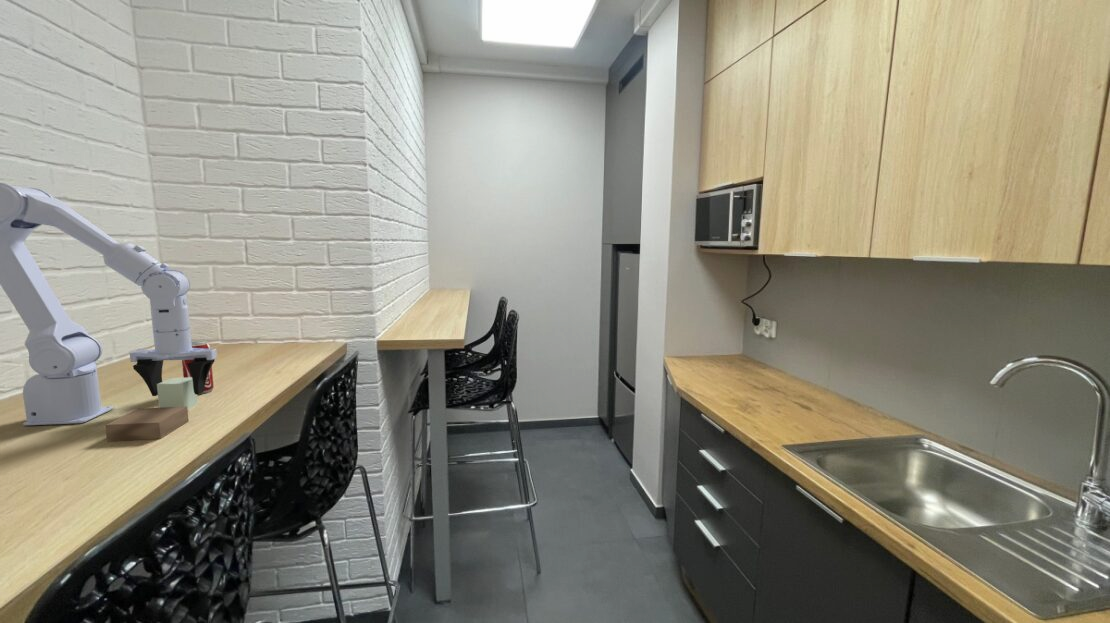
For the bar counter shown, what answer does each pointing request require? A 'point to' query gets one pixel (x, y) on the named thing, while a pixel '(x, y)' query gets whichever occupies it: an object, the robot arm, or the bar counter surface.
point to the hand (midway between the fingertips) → (178, 393)
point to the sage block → (177, 393)
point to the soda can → (186, 371)
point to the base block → (147, 423)
